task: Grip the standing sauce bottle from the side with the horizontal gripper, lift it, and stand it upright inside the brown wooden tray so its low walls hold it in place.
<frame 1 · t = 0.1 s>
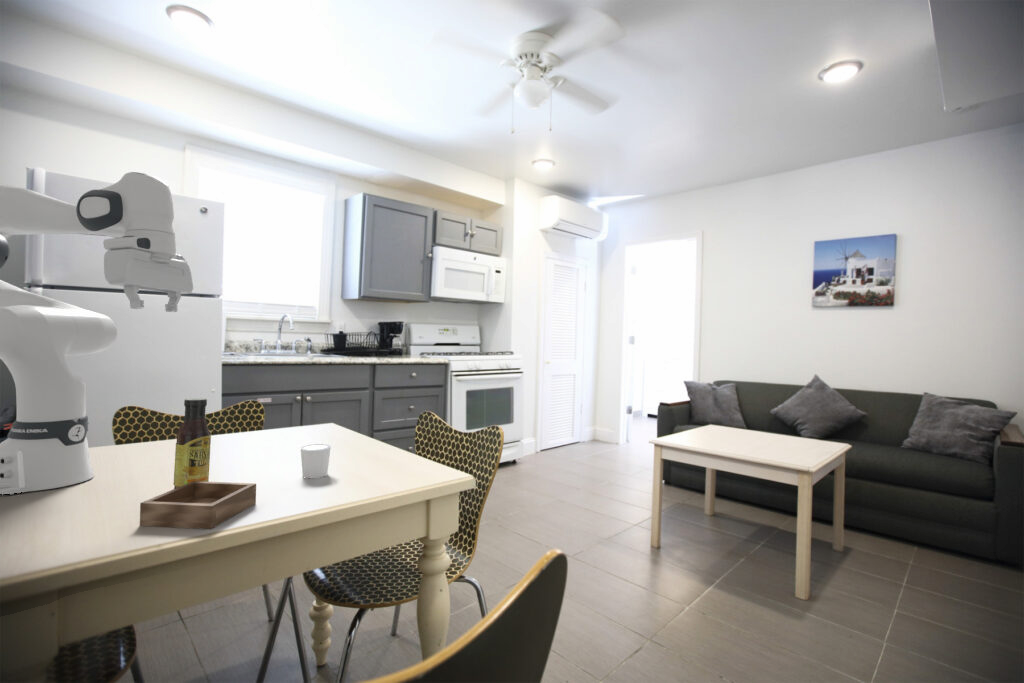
hand: (155, 310, 103), 39 cm above the table, tool pointing down, fingers open, 8 cm apart
white cup: (315, 476, 115), on the table
sauce bottle: (191, 492, 101), on the table
brown wooden tray: (201, 513, 88), on the table
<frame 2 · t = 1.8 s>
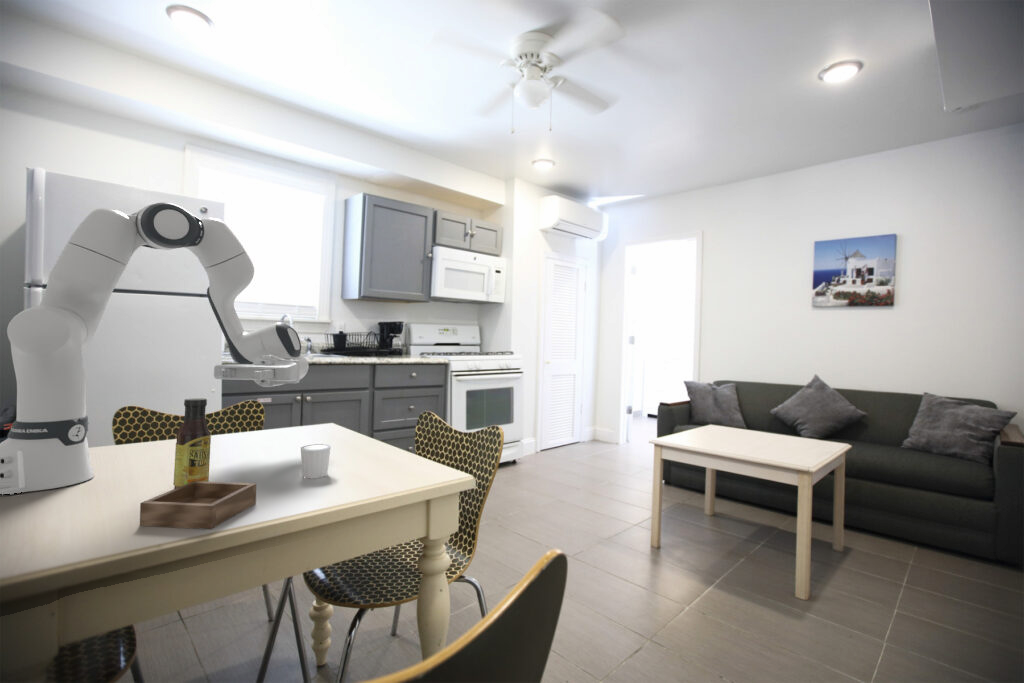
hand: (238, 374, 116), 24 cm above the table, tool horizontal, fingers open, 8 cm apart
nothing on the table moved.
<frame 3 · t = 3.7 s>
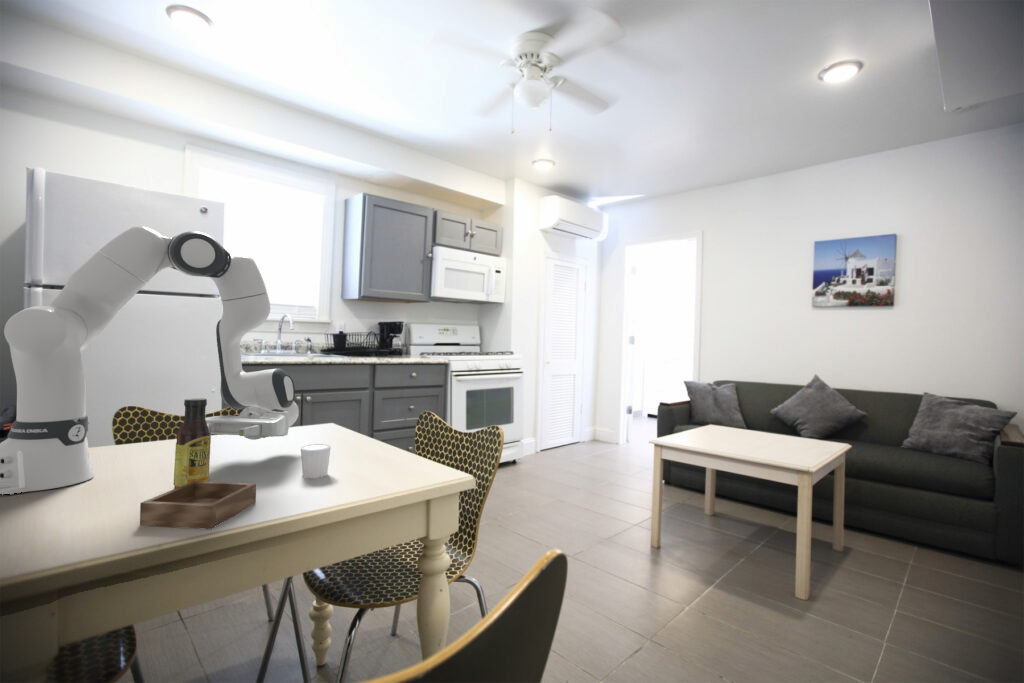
hand: (222, 431, 111), 11 cm above the table, tool horizontal, fingers open, 8 cm apart
nothing on the table moved.
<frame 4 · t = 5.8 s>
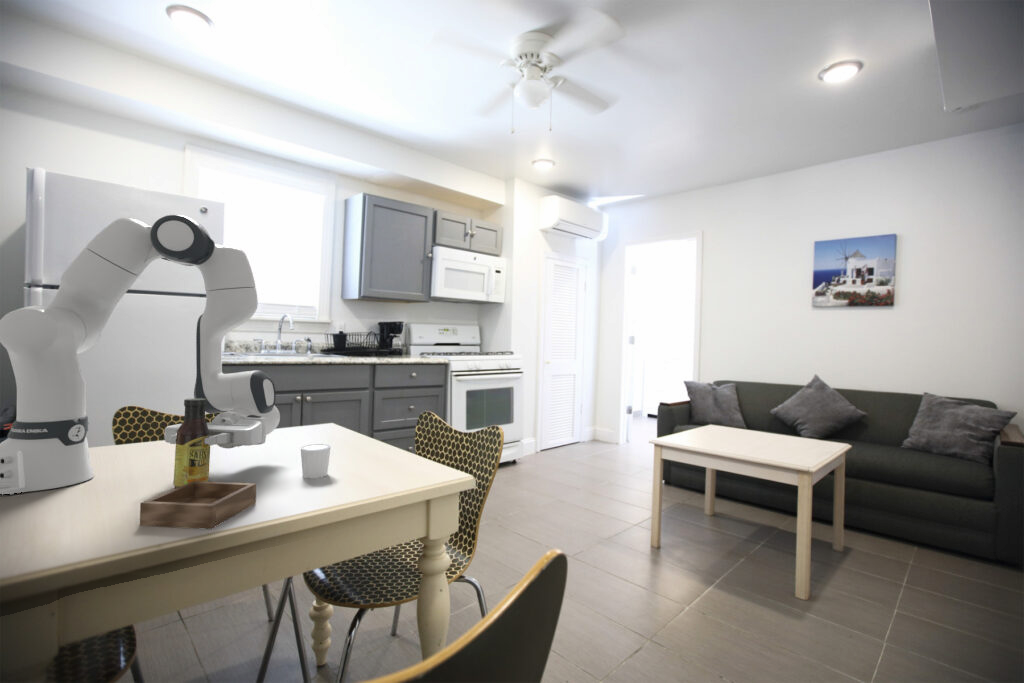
hand: (190, 440, 100), 11 cm above the table, tool horizontal, fingers closed on sauce bottle, 6 cm apart
sauce bottle: (191, 492, 101), on the table, touching gripper
everything else where it was.
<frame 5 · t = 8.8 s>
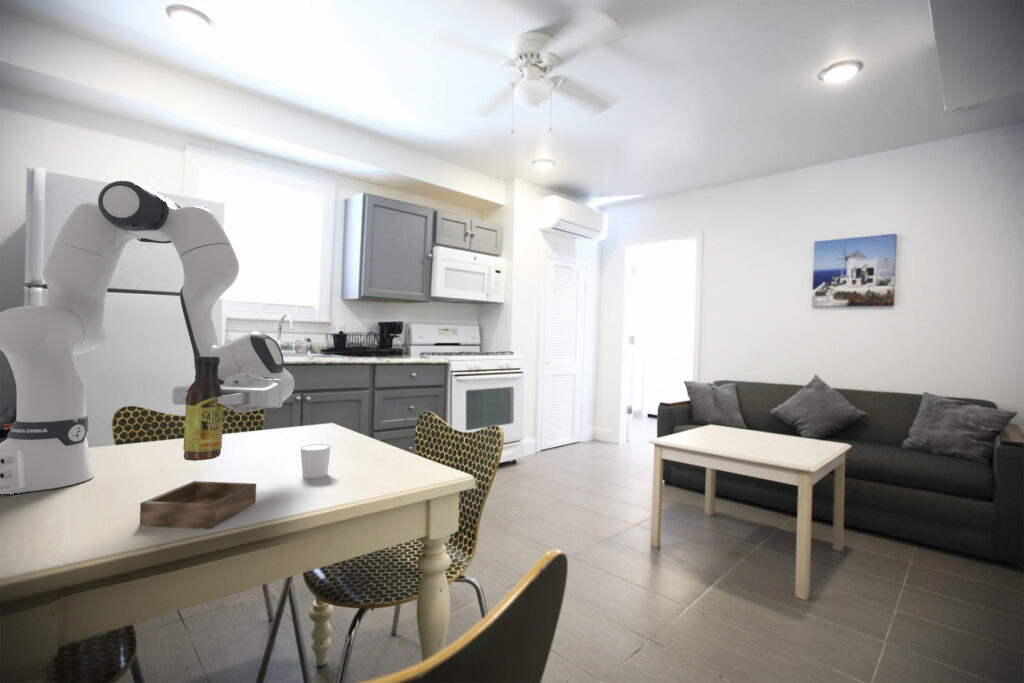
hand: (201, 400, 91), 21 cm above the table, tool horizontal, fingers closed on sauce bottle, 6 cm apart
sauce bottle: (203, 459, 91), point 10 cm above the table, touching gripper
everything else where it was.
when the fingers open (13 cm above the table, at t = 11.5 s): sauce bottle stays where it is, resting on brown wooden tray.
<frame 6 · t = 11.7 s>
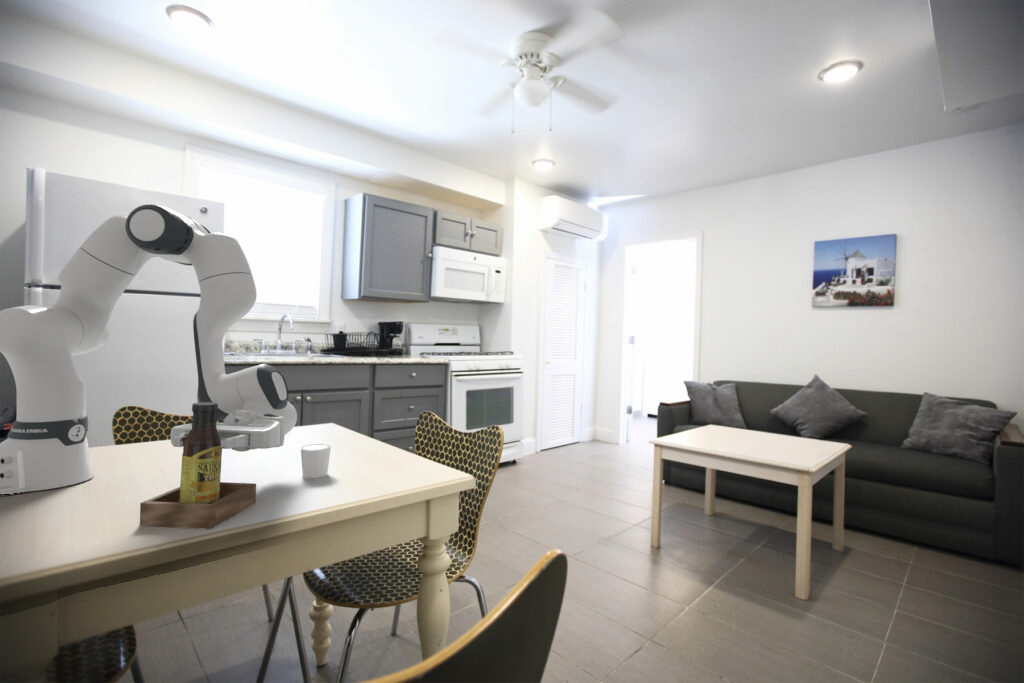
hand: (200, 443, 88), 13 cm above the table, tool horizontal, fingers open, 8 cm apart
sauce bottle: (200, 509, 88), point 1 cm above the table, touching brown wooden tray
everything else where it was.
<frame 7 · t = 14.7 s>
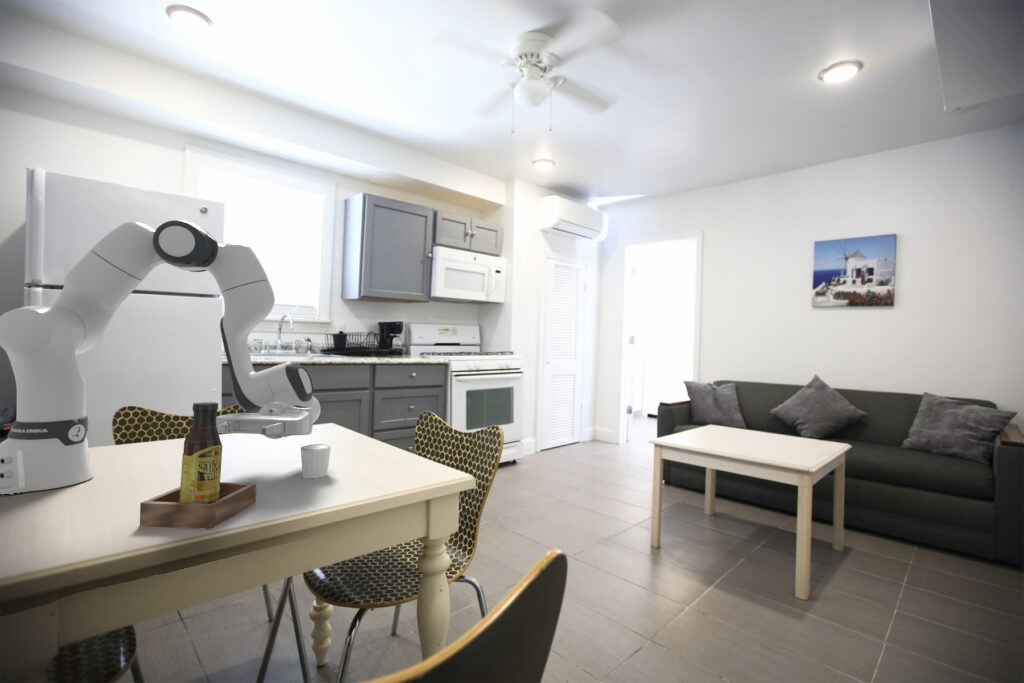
hand: (242, 430, 100), 14 cm above the table, tool horizontal, fingers open, 8 cm apart
nothing on the table moved.
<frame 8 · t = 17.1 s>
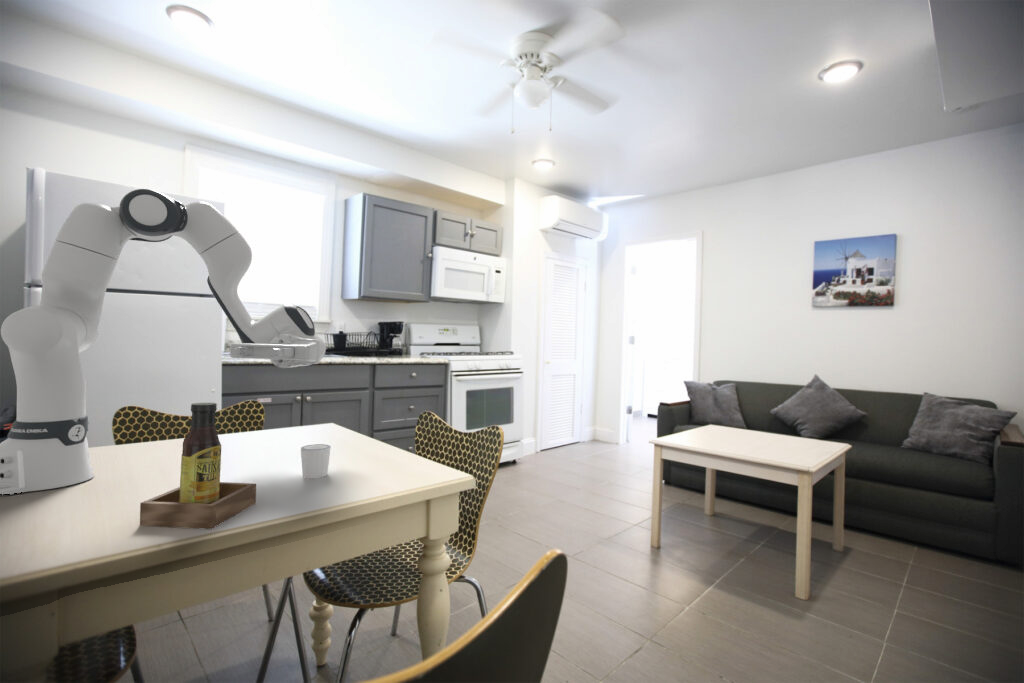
hand: (256, 352, 110), 30 cm above the table, tool horizontal, fingers open, 8 cm apart
nothing on the table moved.
at the end: sauce bottle 0.4 cm off-centre on the brown wooden tray, point 0.8 cm above the brown wooden tray's base; sauce bottle tilted 1°; the gripper is holding nothing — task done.
